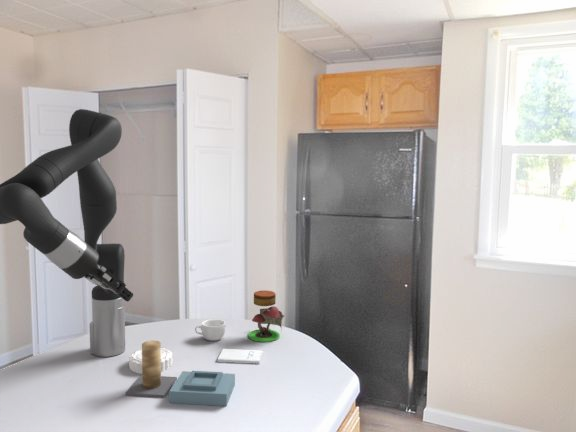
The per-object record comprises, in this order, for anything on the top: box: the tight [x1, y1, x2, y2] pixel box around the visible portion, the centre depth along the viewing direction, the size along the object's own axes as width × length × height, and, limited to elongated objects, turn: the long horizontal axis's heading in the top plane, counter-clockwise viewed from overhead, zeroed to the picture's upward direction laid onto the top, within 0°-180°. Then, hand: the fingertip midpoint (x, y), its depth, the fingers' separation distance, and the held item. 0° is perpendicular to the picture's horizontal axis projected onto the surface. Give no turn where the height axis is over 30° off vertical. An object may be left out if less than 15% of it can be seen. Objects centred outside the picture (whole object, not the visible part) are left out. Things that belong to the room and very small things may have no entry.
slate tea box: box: [168, 370, 236, 407], centre depth 118 cm, size 14×11×4 cm
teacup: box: [194, 318, 226, 342], centre depth 155 cm, size 10×8×5 cm
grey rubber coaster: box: [124, 374, 178, 398], centre depth 121 cm, size 10×10×1 cm
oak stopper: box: [141, 340, 162, 389], centre depth 121 cm, size 5×5×11 cm
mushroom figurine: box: [248, 290, 285, 343], centre depth 158 cm, size 12×13×15 cm
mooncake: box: [128, 347, 174, 375], centre depth 134 cm, size 12×12×4 cm
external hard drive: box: [217, 348, 264, 365], centre depth 141 cm, size 2×8×12 cm
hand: (121, 294), depth 112 cm, fingers open, 8 cm apart
